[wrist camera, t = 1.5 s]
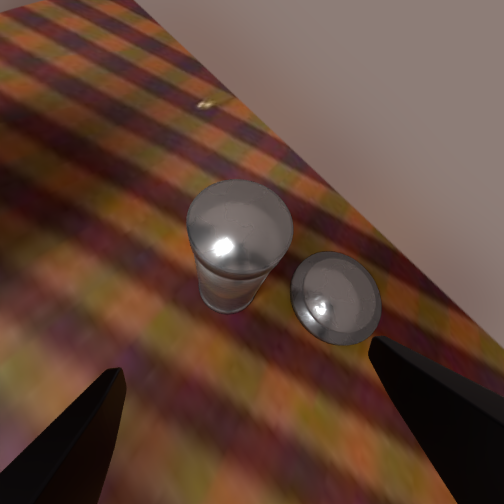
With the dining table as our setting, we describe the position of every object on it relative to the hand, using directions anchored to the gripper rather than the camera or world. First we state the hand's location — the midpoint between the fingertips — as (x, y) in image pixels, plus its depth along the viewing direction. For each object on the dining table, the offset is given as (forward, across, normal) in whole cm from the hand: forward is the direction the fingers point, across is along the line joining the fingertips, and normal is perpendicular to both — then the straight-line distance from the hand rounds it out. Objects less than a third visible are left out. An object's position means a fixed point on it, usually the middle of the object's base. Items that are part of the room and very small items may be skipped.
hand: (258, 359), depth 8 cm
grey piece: (+13, 0, +4) cm, 14 cm away
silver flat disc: (+12, -10, +6) cm, 17 cm away
